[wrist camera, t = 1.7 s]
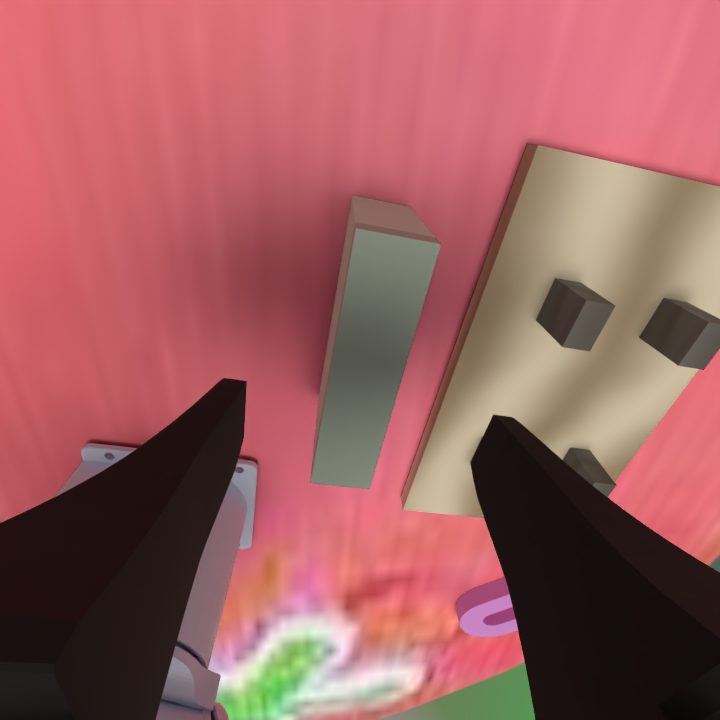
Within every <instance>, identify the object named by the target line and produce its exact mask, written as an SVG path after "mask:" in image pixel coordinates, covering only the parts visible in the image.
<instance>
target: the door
mask: <svg viewBox="0 0 720 720" xmlns="http://www.w3.org/2000/svg"><path fill="white" fill-rule="evenodd" d="M440 246H441V244H440V242H439V241H438V240H437V239H436V237H435V236H434V235H433V234H432V233H431V231H430V230H429V229H428V228H427V226H426V225H425V224H424V223H423V222H422V220H421V219H420V218H419V217H418V215H417V214H416V213H415V212H414V211H413V209H412V208H411V207H409V206H404V205H399V204H394V203H389V202H384V201H379V200H374V199H369V198H364V197H359V196H354V195H352V200H351V206H350V212H349V218H348V224H347V230H346V236H345V242H344V248H343V254H342V260H341V266H340V272H339V278H338V284H337V290H336V296H335V302H334V308H333V313H332V319H331V325H330V331H329V337H328V343H327V349H326V355H325V361H324V367H323V373H322V379H321V385H320V391H319V399H318V409H317V419H316V430H315V440H314V450H313V461H312V471H311V482H310V483H313V484H323V485H332V486H342V487H352V488H361V489H370V485H371V482H372V479H373V475H374V472H375V468H376V465H377V462H378V458H379V455H380V451H381V448H382V444H383V441H384V438H385V434H386V431H387V427H388V424H389V421H390V417H391V414H392V410H393V407H394V403H395V400H396V397H397V393H398V390H399V386H400V383H401V380H402V376H403V373H404V369H405V366H406V363H407V359H408V356H409V352H410V349H411V345H412V342H413V339H414V335H415V332H416V328H417V325H418V322H419V318H420V315H421V311H422V308H423V304H424V301H425V298H426V294H427V291H428V287H429V284H430V281H431V277H432V274H433V270H434V267H435V264H436V260H437V257H438V253H439V250H440Z"/></svg>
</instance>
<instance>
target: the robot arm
mask: <svg viewBox="0 0 720 720" xmlns="http://www.w3.org/2000/svg"><path fill="white" fill-rule="evenodd" d="M246 383H247V381H241V380H234V379H226V378H223V379H222V380H220V381H219V382H218V383H217V384H216V385H215V386H214V387H213V388H212V389H211V390H209V391H208V392H207V393H206V394H205V395H204V396H203V397H202V398H201V399H199V400H198V401H197V402H196V403H195V404H194V405H193V406H191V407H190V408H189V409H188V410H187V411H185V412H184V413H183V414H182V415H181V416H179V417H178V418H177V419H176V420H175V421H173V422H172V423H171V424H170V425H168V426H167V427H166V428H164V429H163V430H162V431H160V432H159V433H158V434H156V435H155V436H154V437H152V438H151V439H150V440H148V441H147V442H146V443H144V444H143V445H142V446H140V447H139V448H132V447H123V446H114V445H105V444H96V443H88V444H86V445H85V446H84V447H83V448H82V449H81V456H82V460H83V461H82V462H81V464H80V465H79V466H78V467H77V469H76V470H75V471H74V473H73V474H72V475H71V476H70V478H69V479H68V480H67V481H66V483H65V484H64V485H63V487H62V488H61V489H60V490H59V492H58V493H57V494H56V495H55V497H54V498H52V499H50V500H48V501H46V502H44V503H42V504H40V505H38V506H36V507H34V508H32V509H30V510H28V511H26V512H24V513H22V514H20V515H17V516H15V517H13V518H11V519H9V520H6V521H4V522H2V523H0V720H229V718H228V715H227V712H226V710H225V708H224V707H223V706H222V705H221V704H220V703H217V702H215V699H216V695H217V690H218V686H219V681H220V677H221V676H220V675H219V674H217V673H214V672H212V671H210V670H208V666H209V662H210V658H211V654H212V650H213V646H214V642H215V638H216V634H217V630H218V626H219V622H220V618H221V614H222V610H223V606H224V602H225V598H226V594H227V590H228V587H229V583H230V579H231V575H232V571H233V567H234V563H235V559H236V555H237V551H238V549H248V548H250V547H251V545H252V539H253V527H254V514H255V501H256V489H257V476H258V465H257V464H256V463H255V462H254V461H250V460H242V459H238V458H239V454H240V450H241V446H242V442H243V438H244V423H245V403H246ZM110 453H111V454H110ZM238 467H242V468H238ZM471 470H472V475H473V481H474V485H475V490H476V494H477V498H478V501H479V504H480V507H481V510H482V513H483V516H484V519H485V521H486V524H487V527H488V530H489V533H490V536H491V538H492V541H493V544H494V547H495V550H496V553H497V555H498V558H499V561H500V564H501V567H502V570H503V573H504V576H505V579H506V583H507V586H508V590H509V594H510V598H511V602H512V606H513V610H514V614H515V618H516V623H517V627H518V632H519V636H520V641H521V646H522V650H523V655H524V660H525V664H526V670H527V675H528V680H529V686H530V691H531V696H532V702H533V708H534V713H535V720H720V573H719V572H718V571H716V570H714V569H713V568H711V567H709V566H708V565H706V564H704V563H703V562H701V561H699V560H698V559H696V558H694V557H693V556H691V555H690V554H688V553H686V552H685V551H683V550H682V549H680V548H679V547H677V546H675V545H674V544H672V543H671V542H669V541H668V540H666V539H665V538H663V537H662V536H660V535H659V534H657V533H656V532H654V531H653V530H651V529H650V528H648V527H647V526H645V525H644V524H643V523H641V522H640V521H638V520H637V519H636V518H634V517H633V516H631V515H630V514H629V513H627V512H626V511H624V510H623V509H622V508H620V507H619V506H618V505H616V504H615V503H614V502H613V501H611V500H610V499H609V498H607V497H606V496H605V495H604V494H602V493H601V492H600V491H599V490H597V489H596V488H595V487H594V486H593V485H591V484H590V483H589V482H588V481H586V480H585V479H584V478H583V477H582V476H580V475H579V474H578V473H577V472H576V471H575V470H573V469H572V468H571V467H570V466H569V465H568V464H566V463H565V462H564V461H563V460H562V459H561V458H560V457H559V456H557V455H556V454H555V453H554V452H553V451H552V450H551V449H550V448H548V447H547V446H546V445H545V444H544V443H543V442H542V441H541V440H539V439H538V438H537V437H536V436H535V435H534V434H533V433H531V432H530V431H529V430H528V429H527V428H526V427H524V426H523V425H522V424H521V423H520V422H518V421H517V420H516V419H514V418H513V417H508V416H501V415H493V416H492V418H491V420H490V423H489V425H488V427H487V429H486V431H485V433H484V436H483V438H482V440H481V442H480V444H479V446H478V448H477V451H476V453H475V455H474V457H473V459H472V461H471Z"/></svg>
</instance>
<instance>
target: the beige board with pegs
mask: <svg viewBox="0 0 720 720" xmlns="http://www.w3.org/2000/svg"><path fill="white" fill-rule="evenodd" d="M719 349H720V186H715V185H711V184H707V183H702V182H698V181H694V180H689V179H685V178H681V177H676V176H672V175H667V174H663V173H659V172H654V171H650V170H646V169H641V168H637V167H633V166H628V165H624V164H620V163H615V162H611V161H606V160H602V159H598V158H593V157H589V156H585V155H580V154H576V153H572V152H567V151H563V150H559V149H554V148H550V147H545V146H541V145H534V144H527V145H526V148H525V151H524V154H523V157H522V159H521V162H520V165H519V168H518V170H517V173H516V176H515V179H514V182H513V184H512V187H511V190H510V193H509V196H508V198H507V201H506V204H505V207H504V210H503V212H502V215H501V218H500V221H499V224H498V226H497V229H496V232H495V235H494V238H493V240H492V243H491V246H490V249H489V252H488V254H487V257H486V260H485V263H484V266H483V268H482V271H481V274H480V277H479V280H478V282H477V285H476V288H475V291H474V294H473V296H472V299H471V302H470V305H469V308H468V310H467V313H466V316H465V319H464V321H463V324H462V327H461V330H460V333H459V335H458V338H457V341H456V344H455V347H454V349H453V352H452V355H451V358H450V361H449V363H448V366H447V369H446V372H445V375H444V377H443V380H442V383H441V386H440V389H439V391H438V394H437V397H436V400H435V403H434V405H433V408H432V411H431V414H430V417H429V419H428V422H427V425H426V428H425V431H424V433H423V436H422V439H421V442H420V445H419V447H418V450H417V453H416V456H415V459H414V461H413V464H412V467H411V470H410V472H409V475H408V478H407V481H406V484H405V486H404V489H403V492H402V495H401V501H402V507H403V510H409V511H420V512H430V513H440V514H450V515H460V516H470V517H480V518H484V516H483V513H482V510H481V507H480V504H479V501H478V498H477V494H476V490H475V485H474V481H473V475H472V470H471V461H472V459H473V457H474V455H475V453H476V451H477V448H478V446H479V444H480V442H481V440H482V438H483V436H484V433H485V431H486V429H487V427H488V425H489V423H490V420H491V418H492V416H493V415H501V416H508V417H513V418H514V419H516V420H517V421H518V422H520V423H521V424H522V425H523V426H524V427H526V428H527V429H528V430H529V431H530V432H531V433H533V434H534V435H535V436H536V437H537V438H538V439H539V440H541V441H542V442H543V443H544V444H545V445H546V446H547V447H548V448H550V449H551V450H552V451H553V452H554V453H555V454H556V455H557V456H559V457H560V458H561V459H562V460H563V461H564V462H565V463H566V464H568V465H569V466H570V467H571V468H572V469H573V470H575V471H576V472H577V473H578V474H579V475H580V476H582V477H583V478H584V479H585V480H586V481H588V482H589V483H590V484H591V485H593V486H594V487H595V488H596V489H597V490H599V491H600V492H601V493H602V494H604V495H605V496H606V497H608V496H609V494H610V493H611V492H612V490H613V489H614V488H615V486H616V484H615V483H614V482H615V481H616V479H617V478H618V477H619V475H620V474H621V473H622V471H623V470H624V469H625V467H626V466H627V465H628V463H629V462H630V461H631V459H632V458H633V457H634V455H635V454H636V453H637V451H638V450H639V449H640V447H641V446H642V445H643V443H644V442H645V441H646V439H647V438H648V437H649V435H650V434H651V433H652V431H653V430H654V429H655V427H656V426H657V425H658V423H659V422H660V421H661V419H662V418H663V417H664V415H665V414H666V413H667V411H668V410H669V409H670V407H671V406H672V405H673V403H674V402H675V401H676V399H677V398H678V396H679V395H680V394H681V392H682V391H683V390H684V388H685V387H686V386H687V384H688V383H689V382H690V380H691V379H692V378H693V376H694V375H695V374H696V372H697V371H698V370H699V369H702V370H704V369H705V367H706V366H707V365H708V363H709V362H710V361H711V359H712V358H713V357H714V355H715V354H716V353H717V351H718V350H719Z"/></svg>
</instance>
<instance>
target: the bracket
mask: <svg viewBox="0 0 720 720" xmlns="http://www.w3.org/2000/svg"><path fill="white" fill-rule="evenodd" d="M456 611H457V615H458V619H459V624H460V627H461V629H462V630H463V631H464V632H466V633H468V634H470V635H473V636H479V637H495V636H501V635H505V634H508V633H511V632H514V631H517V630H518V627H517V623H516V618H515V614H514V610H513V606H512V602H511V598H510V594H509V590H508V586H507V583H506V579H505V577H504V578H501V579H498V580H496V581H493V582H490V583H487V584H485V585H482V586H479V587H477V588H474V589H472V590H470V591H468V592H466V593H465V594H463V595H462V596H461V597H460V598H459V599H458V601H457V603H456Z"/></svg>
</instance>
